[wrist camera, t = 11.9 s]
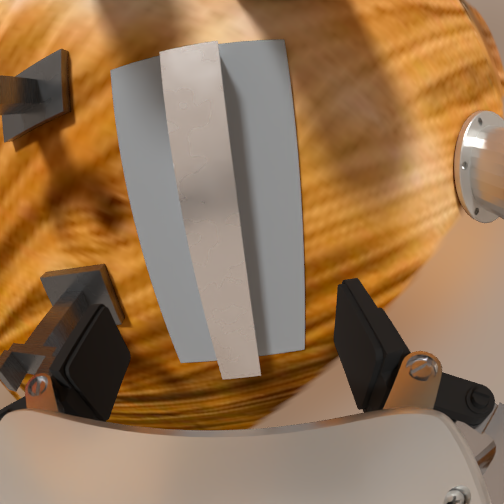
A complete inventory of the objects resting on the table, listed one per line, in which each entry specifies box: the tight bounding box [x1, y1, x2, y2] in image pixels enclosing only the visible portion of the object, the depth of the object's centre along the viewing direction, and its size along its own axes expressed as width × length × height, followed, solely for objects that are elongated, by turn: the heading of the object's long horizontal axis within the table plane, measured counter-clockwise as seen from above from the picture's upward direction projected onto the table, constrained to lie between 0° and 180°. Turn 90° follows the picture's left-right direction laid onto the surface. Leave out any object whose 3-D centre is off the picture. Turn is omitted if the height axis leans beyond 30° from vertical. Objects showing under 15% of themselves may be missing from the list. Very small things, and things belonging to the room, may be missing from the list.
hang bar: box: [160, 41, 261, 379], centre depth 19 cm, size 4×26×4 cm, turn 6°
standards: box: [0, 49, 125, 391], centre depth 14 cm, size 8×26×12 cm, turn 6°
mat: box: [111, 40, 305, 363], centre depth 21 cm, size 13×28×1 cm, turn 6°
